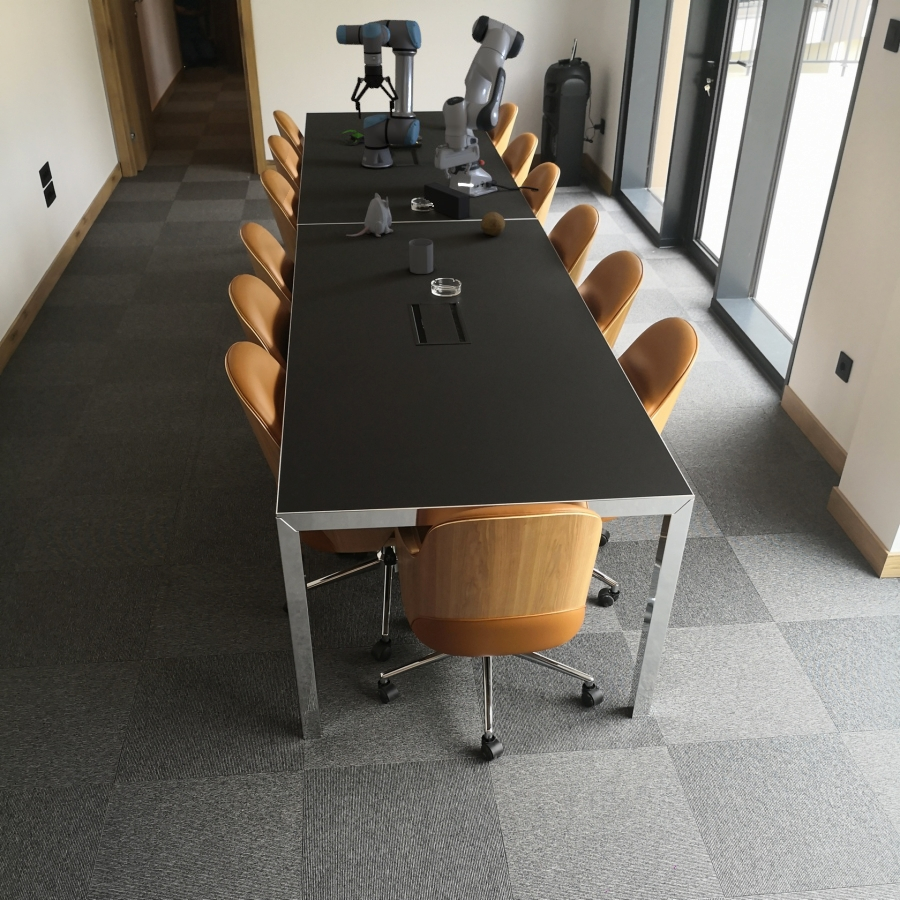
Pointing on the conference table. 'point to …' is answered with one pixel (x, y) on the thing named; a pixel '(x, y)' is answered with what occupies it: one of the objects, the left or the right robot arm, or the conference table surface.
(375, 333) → the conference table surface
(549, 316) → the conference table surface
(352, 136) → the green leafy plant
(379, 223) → the toy
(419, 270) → the cup
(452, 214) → the bar
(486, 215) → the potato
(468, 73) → the right robot arm
